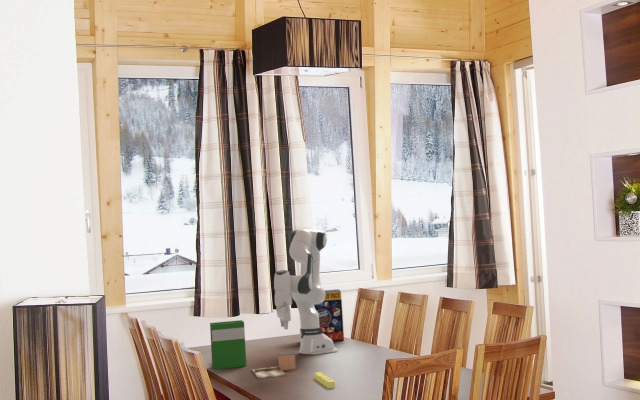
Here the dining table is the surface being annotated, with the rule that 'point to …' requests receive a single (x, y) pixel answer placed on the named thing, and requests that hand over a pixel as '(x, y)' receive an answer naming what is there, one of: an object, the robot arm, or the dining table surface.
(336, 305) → the cereal box
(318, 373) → the yellow segmented bar
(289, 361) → the block
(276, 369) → the board
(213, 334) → the hardback book
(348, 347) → the dining table surface
